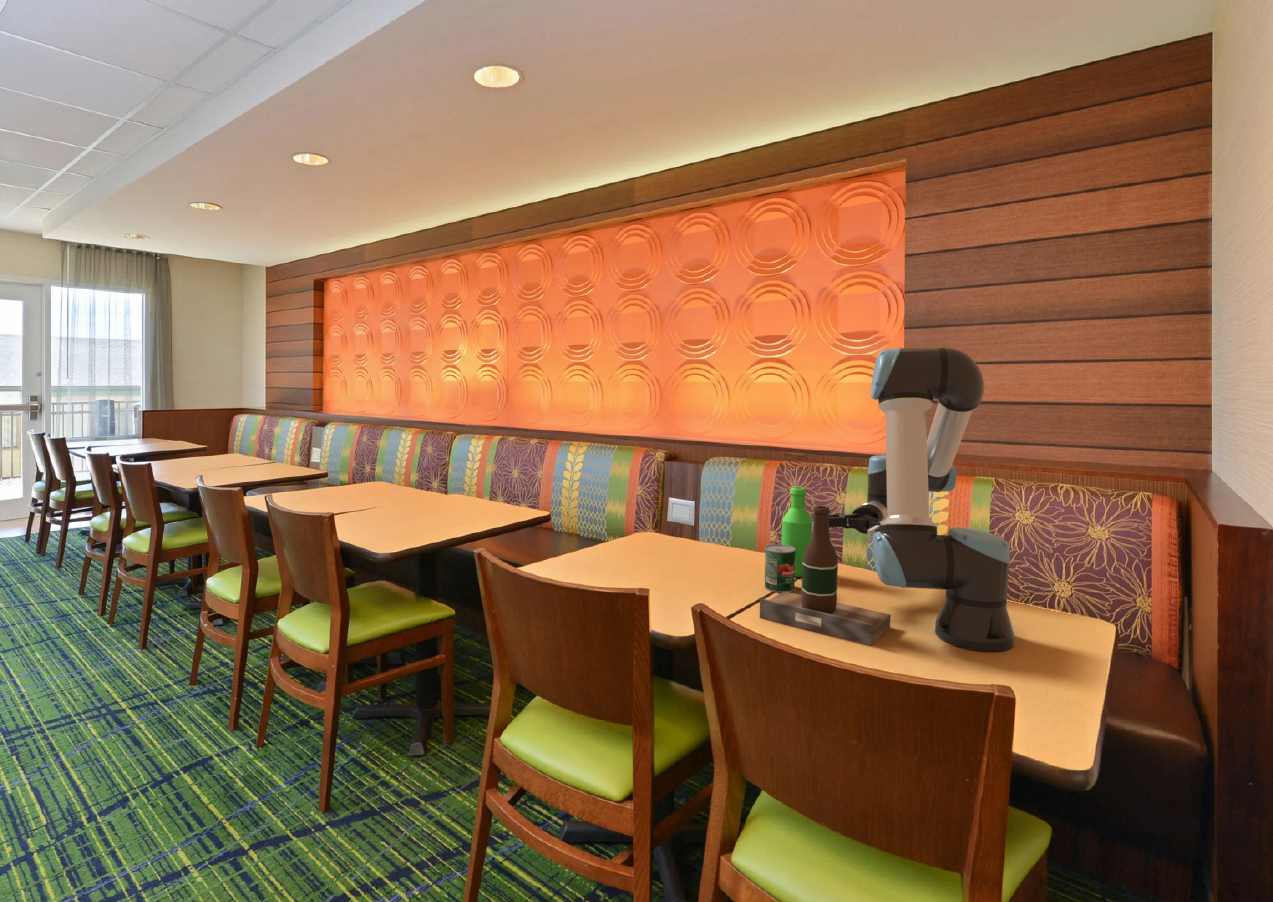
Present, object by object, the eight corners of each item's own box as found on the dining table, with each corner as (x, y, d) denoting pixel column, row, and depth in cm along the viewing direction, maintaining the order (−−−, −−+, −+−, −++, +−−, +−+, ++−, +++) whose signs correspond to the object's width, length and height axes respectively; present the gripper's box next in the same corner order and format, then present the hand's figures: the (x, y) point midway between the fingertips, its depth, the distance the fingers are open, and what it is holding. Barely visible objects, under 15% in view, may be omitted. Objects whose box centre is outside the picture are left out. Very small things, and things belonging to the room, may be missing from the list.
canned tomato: (768, 581, 178) (769, 543, 177) (797, 585, 175) (798, 546, 173) (761, 590, 171) (761, 550, 170) (791, 594, 167) (792, 553, 166)
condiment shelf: (890, 627, 145) (890, 607, 145) (870, 645, 135) (871, 625, 135) (783, 602, 161) (784, 585, 161) (759, 617, 151) (759, 599, 151)
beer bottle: (837, 616, 143) (841, 511, 141) (801, 614, 145) (804, 509, 142) (834, 604, 151) (838, 504, 148) (800, 602, 153) (803, 503, 150)
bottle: (776, 569, 190) (778, 485, 187) (805, 568, 190) (807, 485, 188) (786, 578, 181) (788, 490, 178) (816, 577, 182) (819, 490, 179)
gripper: (918, 538, 164) (893, 555, 147) (823, 525, 179) (791, 539, 163) (919, 509, 163) (894, 523, 147) (824, 498, 179) (792, 510, 162)
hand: (840, 531), depth 155 cm, fingers open, 13 cm apart
